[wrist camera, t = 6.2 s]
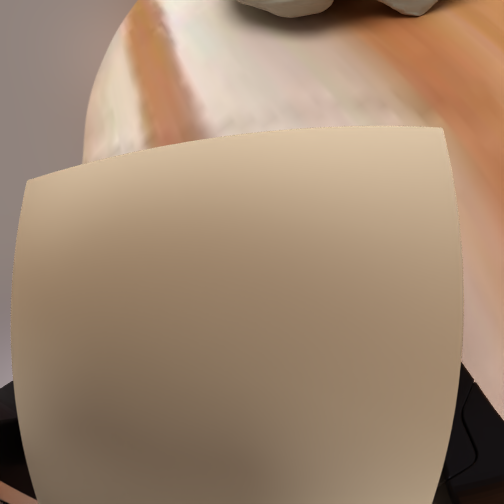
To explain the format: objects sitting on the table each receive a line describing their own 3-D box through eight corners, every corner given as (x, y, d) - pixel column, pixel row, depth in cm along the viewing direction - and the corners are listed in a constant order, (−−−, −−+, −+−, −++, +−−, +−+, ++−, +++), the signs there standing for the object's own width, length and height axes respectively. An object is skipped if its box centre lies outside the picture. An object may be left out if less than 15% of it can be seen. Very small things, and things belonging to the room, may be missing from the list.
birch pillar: (360, 394, 13) (387, 600, 2) (236, 387, 15) (38, 504, 3) (365, 266, 14) (442, 127, 3) (239, 267, 16) (26, 180, 4)
